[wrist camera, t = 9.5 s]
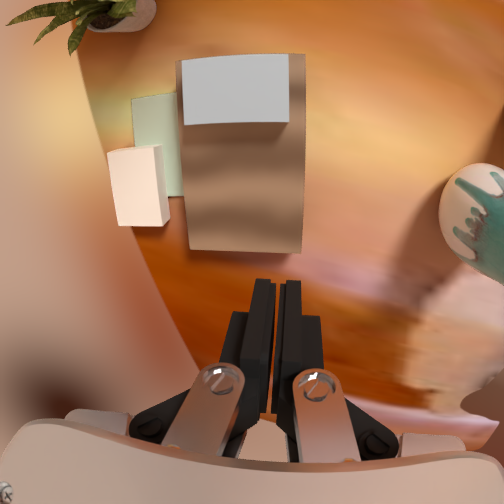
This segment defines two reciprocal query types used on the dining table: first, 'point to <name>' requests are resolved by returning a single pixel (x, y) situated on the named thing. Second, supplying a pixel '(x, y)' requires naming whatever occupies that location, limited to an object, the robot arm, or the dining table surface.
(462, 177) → the vase
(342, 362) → the dining table surface
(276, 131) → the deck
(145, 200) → the cream block
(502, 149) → the dining table surface
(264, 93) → the gray rectangular block
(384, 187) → the dining table surface
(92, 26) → the house plant
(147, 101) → the mat
